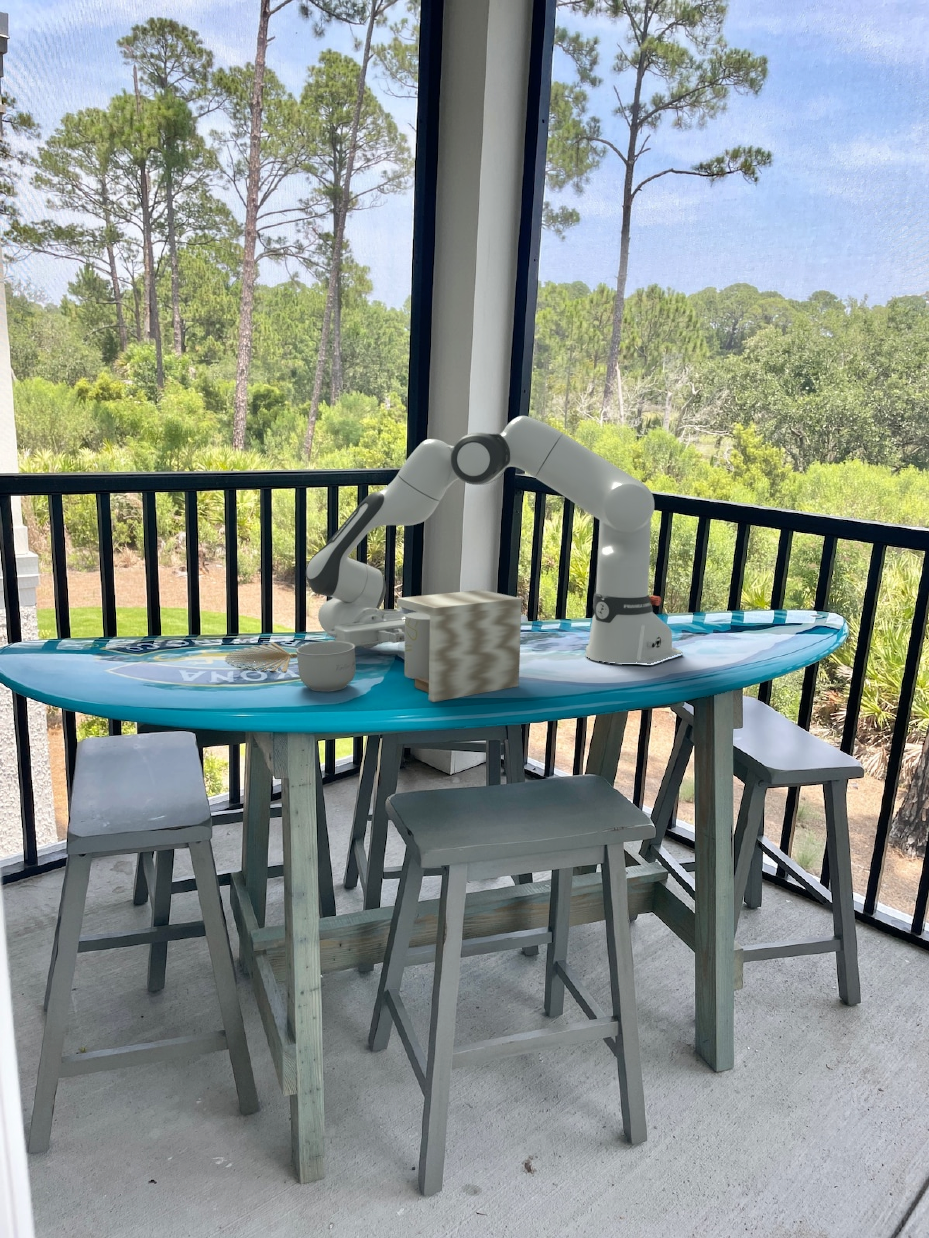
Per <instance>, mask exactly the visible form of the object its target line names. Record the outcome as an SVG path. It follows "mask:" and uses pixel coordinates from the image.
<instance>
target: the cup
mask: <svg viewBox="0 0 929 1238" xmlns="http://www.w3.org/2000/svg"><path fill="white" fill-rule="evenodd" d="M405 614H406V615H405V641H404V676H405V677H406V678H409V679H412V680H415V678H419V677H421V678H424V679H426V680H429V645H430V615H428V614H424V613H420V612H417V611H413V612H408V613H405Z"/></svg>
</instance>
